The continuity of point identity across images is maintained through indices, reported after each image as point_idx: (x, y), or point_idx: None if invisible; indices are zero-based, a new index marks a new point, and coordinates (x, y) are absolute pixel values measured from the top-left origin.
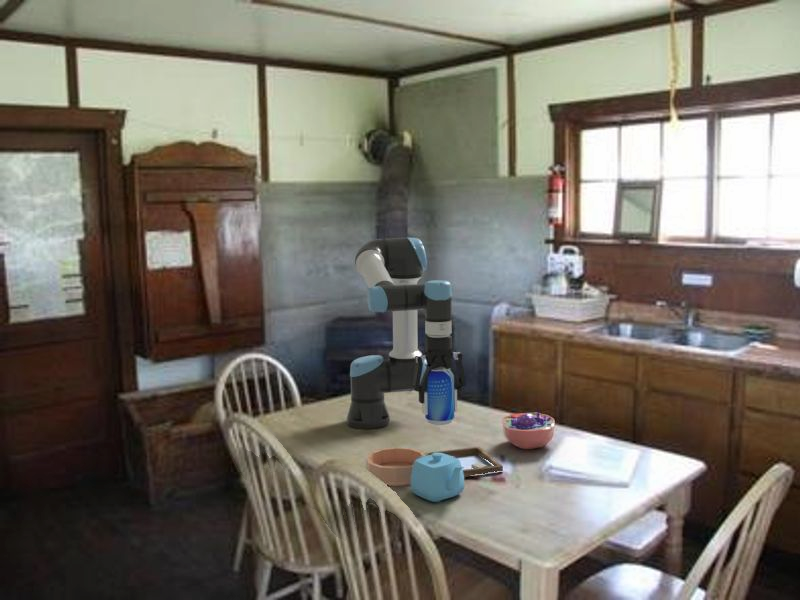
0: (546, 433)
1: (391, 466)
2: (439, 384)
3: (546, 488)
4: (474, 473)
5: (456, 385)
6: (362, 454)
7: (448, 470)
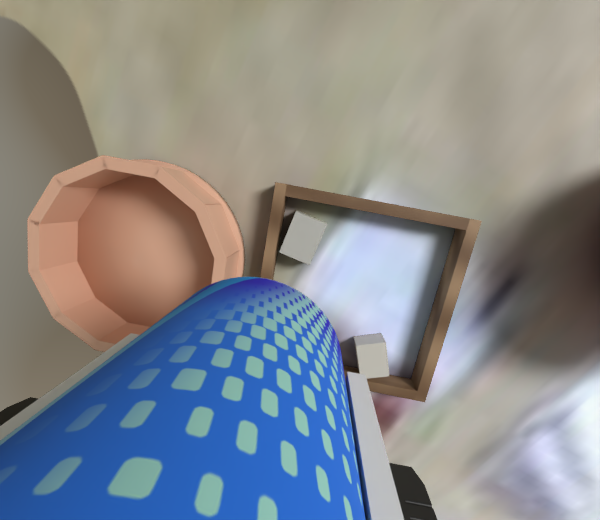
0: None
1: (149, 214)
2: None
3: (440, 509)
4: None
5: None
6: (114, 23)
7: None
